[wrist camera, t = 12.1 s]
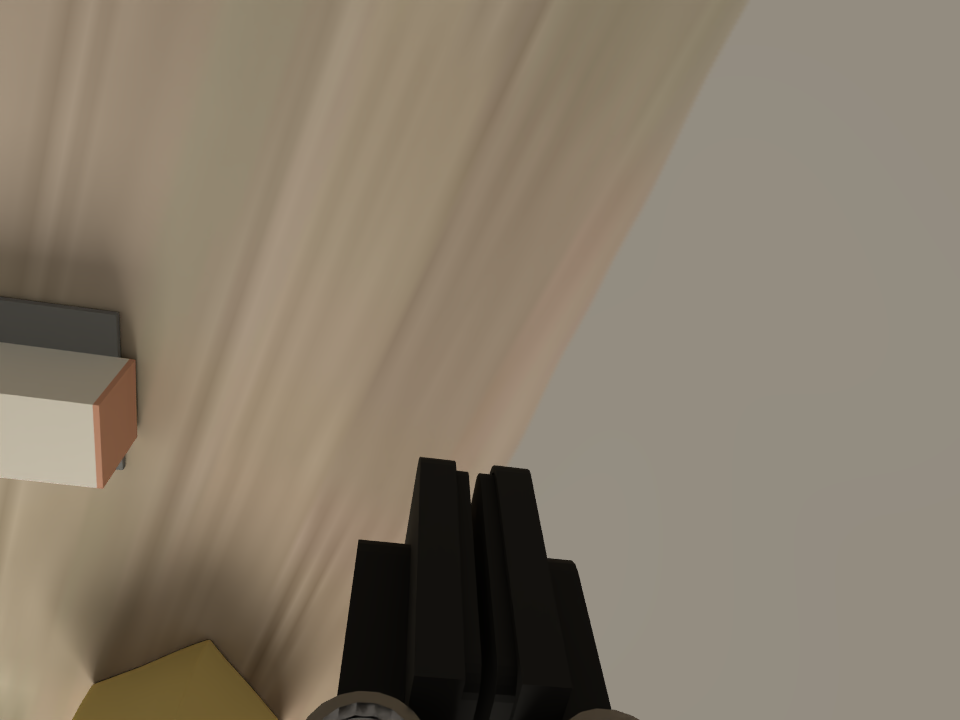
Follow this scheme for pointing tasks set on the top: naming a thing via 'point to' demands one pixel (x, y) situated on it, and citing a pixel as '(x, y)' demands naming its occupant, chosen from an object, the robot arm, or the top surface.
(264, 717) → the cheese
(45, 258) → the top surface
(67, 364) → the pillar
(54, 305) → the mat
